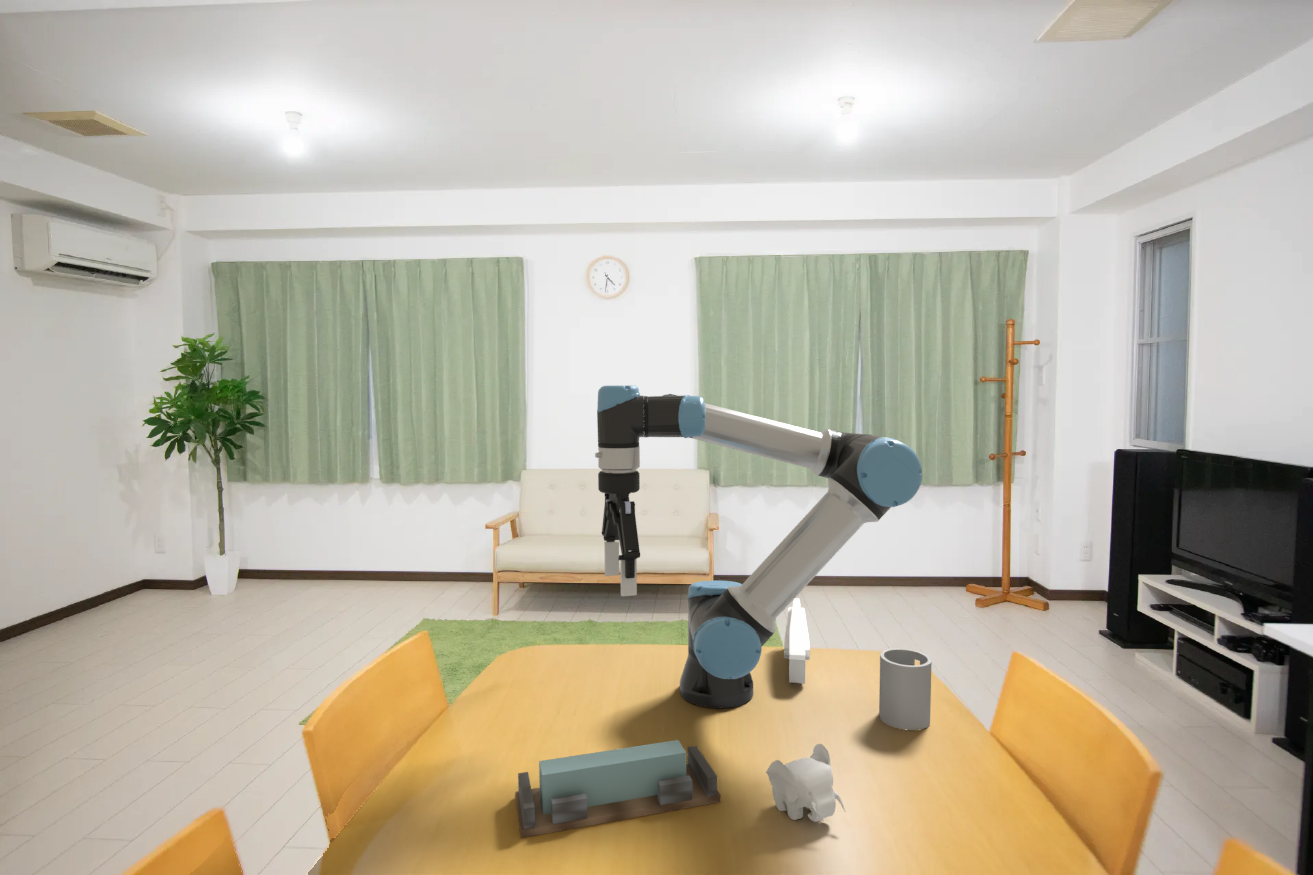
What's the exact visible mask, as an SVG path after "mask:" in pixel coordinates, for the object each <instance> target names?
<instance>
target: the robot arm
mask: <svg viewBox="0 0 1313 875" xmlns="http://www.w3.org/2000/svg"><path fill="white" fill-rule="evenodd" d="M596 407H597V410H596V412H597V413H596V416H597V419H596V420H597V421H596V422H597V447H598V448H597V450H598V452H595V454H594V457H595V458H597V459H598V466H597V467H598V468H599V469H600V470H601V471H599V472H598V474H597V477H598V479H597V480H598V481H597V487H598V488H597V489H598V491H599V492H600V493H602V494H604V508H603V515H602V516H603V517H602V527H601V535H602V537H603V541H604V543H603V544H604V576H605V577H611V576H612V577H613V576H620V596H621V597H630V596H637V595H638V593H637V592H638V588H637V586H638V584H637V583H638V582H637V577H638V576H637V574H638V573H637V571H638V570H637V564H638V563H637V559H639V558H641V552H640V551H641V550H640V543H639V534H638V528H637V527H638V526H637V520H636V519H637V518H636V503H635V501H630V494H634V493H637V492H639V491H640V489H641V488H640V479H641V478H640V476H641V475H640V472H639V471H638V469H640V464H641V461H640V460H641V459H640V456H641V454H640V452H641V451H640V438H683V439H688V438H689V439H693V440H697V441H701V442H705V443H709V444H713V445H716V446H721V447H725V448H727V449H732V450H736V451H740V452H745V453H748V454H752V455H756V456H758V457H759V456H760V457H764V458H768V459H772V460H776V461H779V462H784V463H787V464H792V465H795V466H799V467H803V468H807V469H810V470H811V471H812V473H813V474H814V475H815V476H818V477H822V478H824V479H825V478H826V479H827V482H828V484H827V486H828V490H827V492H826V493H825V494H824V495H823V496H822V497H821V498H820V499H819V501H818V502H816V504H815V505H814V506H813V507H812V508H811V509H810V510H809V511H808V512H807V513H806V515H805V516H804V517H802V519H801V520H800V521H799V522H798V523H797V524H796V525H795V526H794V528H792V529H791V531H790V532H789V533H788V535H786V536H785V538H784V539H783V540H782V541H781V542H780V543H779V544H778V545H777V546H776V547H775V548H774V549H773V550H772V552H771V553H770V554H769V555H768V556H767V557H766V558H765V559H764V560H763V561H762V562H761V563H760V565H758V567H757V568H756V569H754V571H753V572H752V573H751V574H750V575H749V576H748V577H747V578H746V580H745V581H744V582H743V583H740V582H736V581H730V580H703V581H702V580H701V581H696V582H693V583H691V584H690V585H689V586H688V592H687V597H686V599H687V606H688V607H687V612H688V613H687V620H688V621H687V625H688V626H687V627H688V628H687V630H688V631H687V632H688V634H687V640H688V642H687V643H688V644H687V647H688V649H687V650H688V652H687V659H686V661H685V664H684V668H683V669H682V673H681V676H680V679H679V694H680V696H681V697H682V698H683V699H684V700H685V701H686V702H689V703H691V704H693V705H696V706H699V707H703V708H710V709H727V708H728V709H729V708H734V707H738V706H742V705H745V704H746V703H747V702H749V701H751V700H752V698H753V697H754V681H753V678H752V675H751V672H752V671H753V670H754V669H755V668H756V666H757V665H758V663H759V661H760V658H761V656H762V648H763V646H764V645H765V644H766V643H767V642H768V640H770V638H772V636H773V635H774V634H775V633H776V631H777V629H776V628H777V626H776V620H777V618H778V617H779V616H780V615H781V613H782V612H784V611H785V610H786V608H787V607H789V606H790V604H791V603H793V600H794V598H797V596H799V594H800V593H801V592H802V591H803V590H804V589H805V588H806V587H807V586H808V584H810V582H812V580H813V579H814V578H815V577H816V576H817V575H818V574H819V572H820V571H821V570H822V569H823V568H824V567H825V566H826V565H827V564H828V563H829V562H830V561H831V560H832V559H833V558H834V557H835V556H836V554H837V553H838V552H840V550H841V549H842V548H843V547H844V546H845V545H846V544H847V542H849V540H850V539H851V538H853V536H854V535H855V534H856V533H857V532H858V531H859V529H861V527H863V525H864V524H867V523H878V522H879V521H880V520H881V519H882V517H884V516H885V515H886V513H887V512H888V511H889V510H890V509H891V508H895V507H898V506H901V505H905V504H906V503H908V502H910V500H912V499H913V498H914V497H915V496H916V495H917V493H918V491H919V490H920V486H921V485H922V480H923V468H922V463H921V461H920V458H919V456H918V455H917V453H916V452H915V451H914V450H913V448H911V447H910V446H908V445H907V444H906V443H904V442H901V441H900V440H898V439H896V438H894V437H887V436H886V437H885V436H884V437H882V436H878V435H875V434H868V433H854V432H853V433H851V432H847V431H846V432H845V431H838V430H834V429H829V428H826V429H825V428H824V429H823V430H822V431H818V430H814V429H810V428H805V427H801V426H798V425H797V426H796V425H793V424H790V423H786V422H782V421H778V420H774V419H769V418H766V417H762V416H757V415H754V414H749V413H745V412H742V411H738V410H733V409H730V408H726V407H722V406H717V405H713V404H710V403H706V402H705V400H704V398H703V397H702V396H699V395H690V394H689V395H688V394H687V395H678V394H672V393H669V394H663V395H657V396H656V395H655V396H653V395H652V396H648V395H641V393H640V390H639V386H637V385H632V384H631V385H603V386H601V387H600V388H599V389H598V391H597V406H596ZM620 553H621V554H620Z"/></svg>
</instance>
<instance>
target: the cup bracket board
mask: <svg viewBox="0 0 1313 875" xmlns="http://www.w3.org/2000/svg"><path fill="white" fill-rule="evenodd" d="M517 780H518V782H517V784H518V786H517V788H518V791H515V792H514V798H515V806H516V807H515V808H516V813H517V819H518V826H519V832H520V838H521V839H522V838H528V837H533V836H539V835H545V834H550V833H551V834H552V833H556V832H561V831H567V830H573V829H577V828H582V827H583V828H584V827H589V826H594V825H600V824H605V823H606V824H607V823H611V822H616V821H623V820H628V819H633V818H639V817H644V816H650V815H651V816H652V815H656V814H660V813H665V812H667V813H668V812H672V811H679V810H683V809H684V810H685V809H689V808H694V807H700V806H706V805H713V804H717V803H721V802H722V796H721V794H720V792H719V791H718V775H717V773H716V772H715V771H714V769H713V768H712V766H711V765H710V763H709V762H708V760H707V759H706V757H705V756H704V755H703V753H702V751H701V750H700V749H699V747H698V746H697V745H692V746H687V763H686V776H681V777H675V778H670V779H664V780H658V795H654V796H648V797H643V798H637V799H631V800H625V801H619V802H614V803H608V804H602V805H596V806H591V807H587V796H586V793H580V794H574V795H568V796H562V797H556V798H551V813H550V814H544V815H543V812H542V807H541V802H540V787H536V788H535V787H534V788H532V786H531V782H530V776H529V771H525V772H524V771H523V772H518V773H517Z"/></svg>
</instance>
